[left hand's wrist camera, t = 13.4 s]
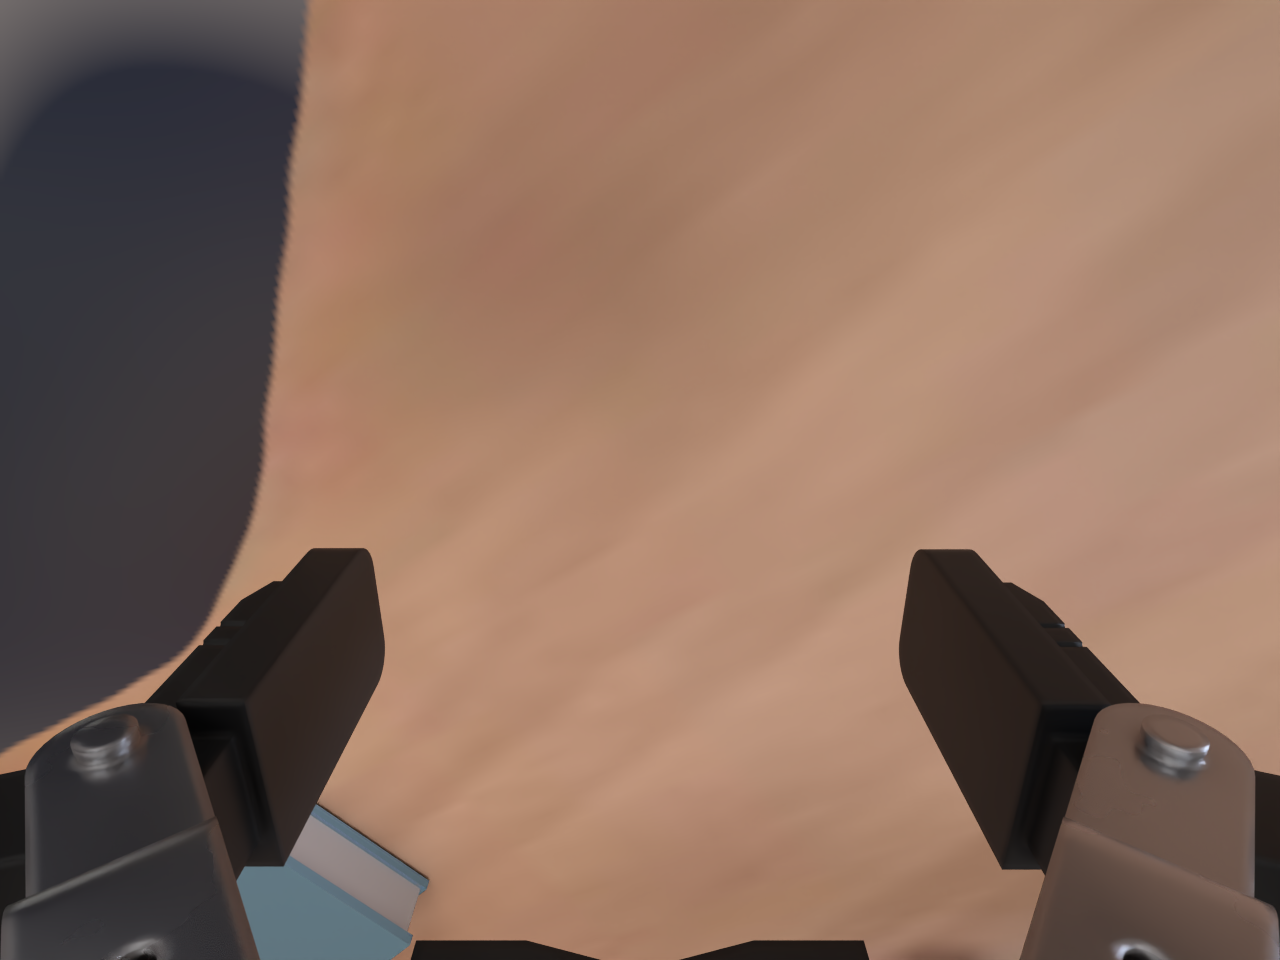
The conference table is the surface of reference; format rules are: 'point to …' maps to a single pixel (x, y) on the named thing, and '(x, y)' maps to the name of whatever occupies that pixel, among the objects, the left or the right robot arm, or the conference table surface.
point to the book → (331, 898)
